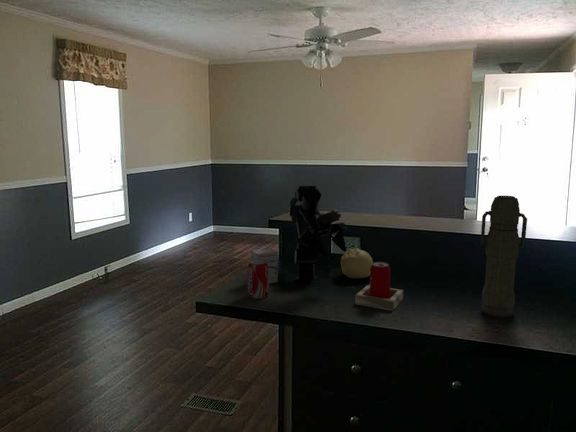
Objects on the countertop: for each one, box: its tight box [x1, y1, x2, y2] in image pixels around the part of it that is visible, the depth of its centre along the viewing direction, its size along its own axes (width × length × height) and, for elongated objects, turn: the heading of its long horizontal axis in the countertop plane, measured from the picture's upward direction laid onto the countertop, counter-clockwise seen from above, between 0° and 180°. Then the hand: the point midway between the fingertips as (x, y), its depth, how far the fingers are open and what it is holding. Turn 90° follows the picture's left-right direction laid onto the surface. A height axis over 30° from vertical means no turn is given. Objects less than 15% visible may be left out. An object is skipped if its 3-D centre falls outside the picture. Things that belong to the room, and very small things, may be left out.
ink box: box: [250, 248, 279, 284], centre depth 170 cm, size 9×5×12 cm, turn 117°
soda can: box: [246, 259, 270, 300], centre depth 155 cm, size 7×7×12 cm
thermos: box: [480, 195, 528, 318], centre depth 139 cm, size 9×12×35 cm
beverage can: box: [369, 261, 391, 299], centre depth 150 cm, size 6×6×12 cm
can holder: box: [354, 284, 404, 312], centre depth 151 cm, size 12×12×3 cm
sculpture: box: [340, 247, 374, 279], centre depth 177 cm, size 12×12×11 cm
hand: (336, 253), depth 157 cm, fingers open, 9 cm apart
